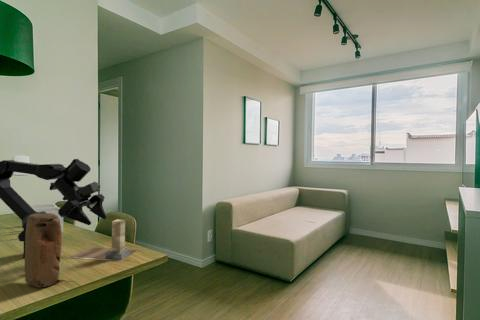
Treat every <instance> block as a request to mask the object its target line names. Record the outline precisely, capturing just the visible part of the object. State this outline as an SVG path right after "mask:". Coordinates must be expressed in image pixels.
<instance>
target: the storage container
mask: <svg viewBox="0 0 480 320" xmlns="http://www.w3.org/2000/svg"><path fill="white" fill-rule="evenodd" d="M29 206H30V207H31V208H32V209H33V210H34V211H36V212H42V211H45V212H46V213H51V214H55V215H57V216H58V217H59V220H60V224H61V231H62V234H64V217H61V216H60V215H59V214H58V210H59V209H60V208H61V207H58V206H57V205H56V204H55V203H43V204H42V203H40V204H29Z"/></svg>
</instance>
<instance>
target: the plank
mask: <svg viewBox="0 0 480 320" xmlns="http://www.w3.org/2000/svg"><path fill="white" fill-rule="evenodd" d="M110 250H112V247H110V248H109V247H97V246H96V247H95V246H89V247H87V248H85V249H82V250H81V251H79V252H77V253H75V254H72V255H71V256H69V257H68V259H77V260H93V261H105V262H106V261H107V262H119V263H121V262H123V261H124V260H126V259H127V258H129V257H130V256H132V255H133V254H135V253H136V252H137V251H138V249H130V254H129V255H128V256H126V257H125V258H124V259H122V260H116V259H105V256H106V253H107V252H108V251H110Z"/></svg>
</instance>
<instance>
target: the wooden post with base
mask: <svg viewBox="0 0 480 320" xmlns="http://www.w3.org/2000/svg"><path fill="white" fill-rule="evenodd" d="M111 248H112V250H110V251H108V252H107V253H106V256H105V259H116V260H122V259H124V258H125V257H126V256H128V255H129V254H130V250H131V248H129V247H128V248H126V219H119V218H118V219H115V220H112V222H111Z"/></svg>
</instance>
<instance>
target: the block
mask: <svg viewBox="0 0 480 320" xmlns="http://www.w3.org/2000/svg"><path fill="white" fill-rule="evenodd" d="M62 234H63V233H62V231H61V224H60V220H59V217H58V216H57V215H55V214H51V213H47V214H34V215H29V216H28V217H27V223H26V236H25V258H24V276H25V277H24V278H25V279H24V280H25V282H26V284H27V285H28V286H31V287H35V288H38V289H40V288H44V287H49V286H52V285H55V284H56V283H57V282H58V281H59V279H60V259H61V255H62V244H63V243H62V242H63V241H62V238H63V237H62Z"/></svg>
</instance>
